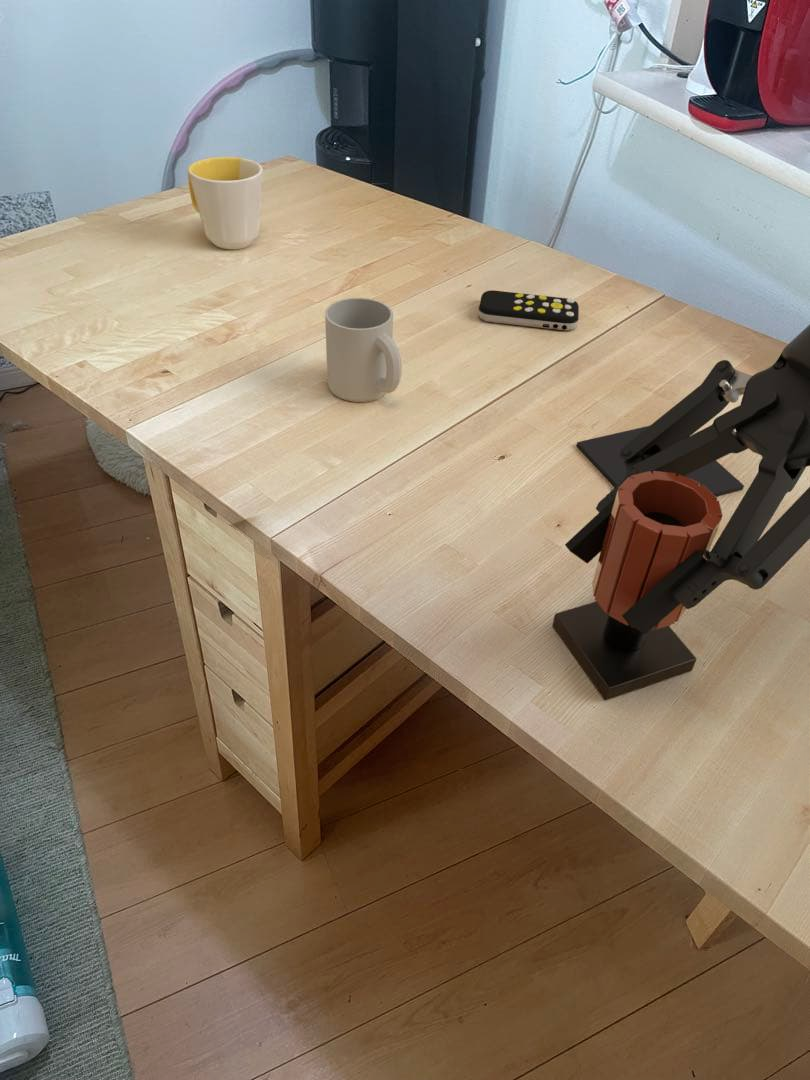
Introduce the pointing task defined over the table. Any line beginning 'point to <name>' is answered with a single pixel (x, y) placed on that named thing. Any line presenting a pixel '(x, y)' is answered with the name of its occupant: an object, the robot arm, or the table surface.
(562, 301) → the remote control
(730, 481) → the mat
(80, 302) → the table surface
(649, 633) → the post stand
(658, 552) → the sleeve ring
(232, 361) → the table surface
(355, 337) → the cup
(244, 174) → the mug
